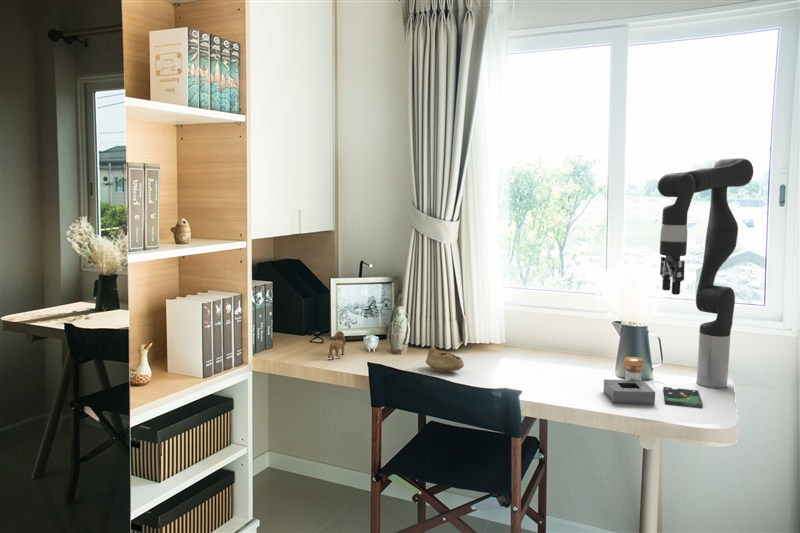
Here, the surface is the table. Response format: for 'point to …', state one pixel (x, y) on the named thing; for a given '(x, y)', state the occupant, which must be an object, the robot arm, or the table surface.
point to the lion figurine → (337, 344)
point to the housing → (629, 392)
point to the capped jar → (633, 368)
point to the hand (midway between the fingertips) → (670, 292)
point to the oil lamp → (443, 361)
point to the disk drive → (682, 397)
